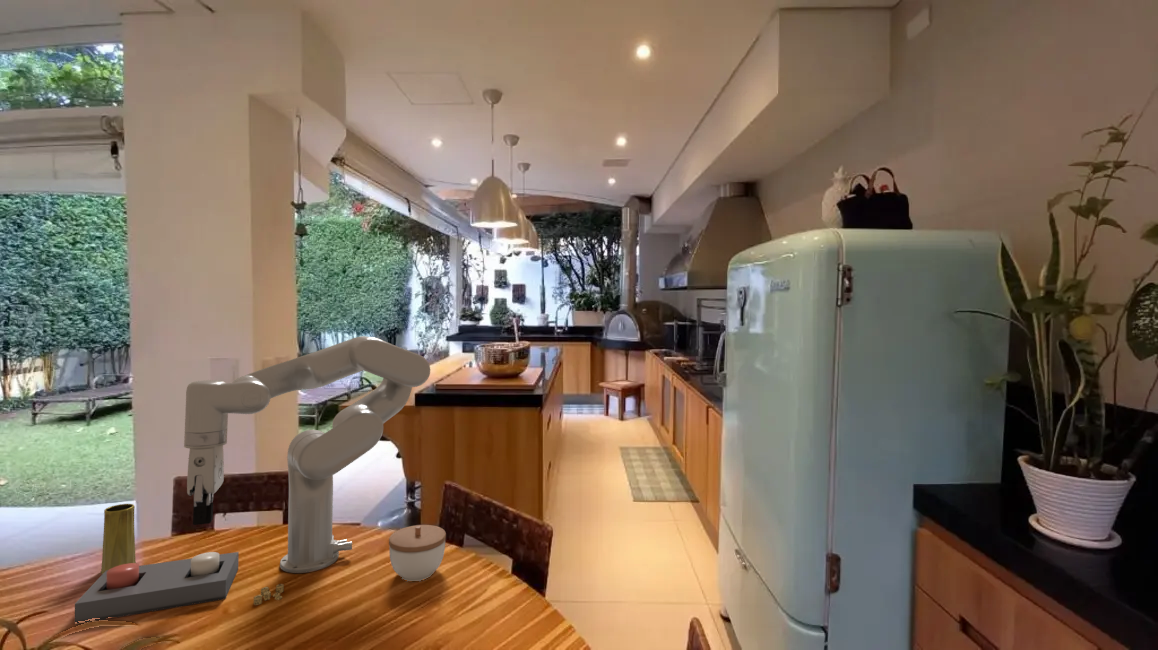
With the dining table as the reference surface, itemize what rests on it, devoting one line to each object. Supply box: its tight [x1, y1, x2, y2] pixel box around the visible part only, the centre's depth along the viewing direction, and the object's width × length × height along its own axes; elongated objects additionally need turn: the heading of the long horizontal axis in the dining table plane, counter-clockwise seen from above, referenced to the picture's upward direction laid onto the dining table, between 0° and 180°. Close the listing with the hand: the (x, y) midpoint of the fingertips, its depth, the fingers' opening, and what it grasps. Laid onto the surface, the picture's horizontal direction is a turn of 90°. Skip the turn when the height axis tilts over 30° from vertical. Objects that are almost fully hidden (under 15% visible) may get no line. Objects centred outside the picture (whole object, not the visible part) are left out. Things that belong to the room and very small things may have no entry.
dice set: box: [253, 583, 285, 606], centre depth 109 cm, size 5×5×2 cm
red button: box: [106, 562, 140, 590], centre depth 106 cm, size 5×5×3 cm
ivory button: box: [190, 551, 220, 577], centre depth 112 cm, size 5×5×3 cm
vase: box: [100, 503, 137, 575], centre depth 119 cm, size 6×6×14 cm
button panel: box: [74, 551, 240, 623], centre depth 109 cm, size 24×14×4 cm, turn 114°
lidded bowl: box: [388, 524, 447, 582], centre depth 120 cm, size 13×13×11 cm
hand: (202, 522), depth 111 cm, fingers closed
